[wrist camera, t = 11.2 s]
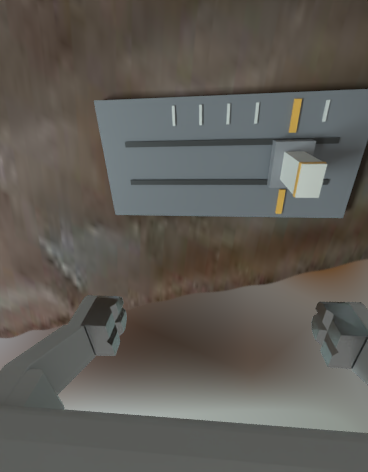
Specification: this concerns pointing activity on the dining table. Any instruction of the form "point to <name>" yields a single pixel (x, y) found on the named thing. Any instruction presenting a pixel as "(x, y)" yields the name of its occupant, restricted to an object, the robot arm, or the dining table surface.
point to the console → (229, 152)
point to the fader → (296, 168)
